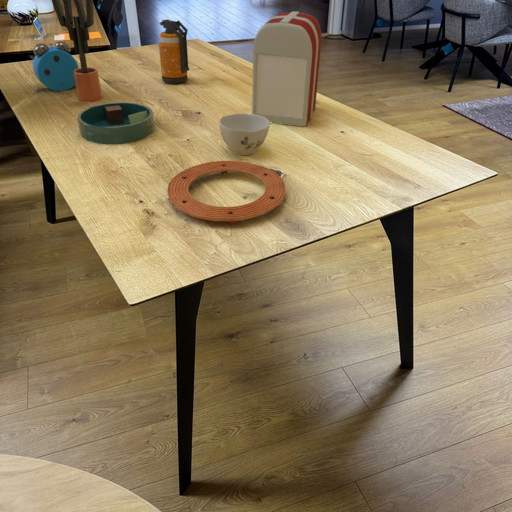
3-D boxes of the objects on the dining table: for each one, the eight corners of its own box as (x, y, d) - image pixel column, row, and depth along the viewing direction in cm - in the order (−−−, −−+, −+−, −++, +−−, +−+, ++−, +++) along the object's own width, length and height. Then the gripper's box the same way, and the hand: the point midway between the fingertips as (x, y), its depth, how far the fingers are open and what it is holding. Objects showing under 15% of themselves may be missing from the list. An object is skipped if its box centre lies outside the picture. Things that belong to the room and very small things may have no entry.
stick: (83, 88, 148) (72, 16, 138) (85, 87, 150) (74, 15, 140) (89, 88, 148) (78, 16, 138) (90, 87, 150) (80, 16, 140)
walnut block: (109, 125, 134) (107, 111, 131) (106, 120, 137) (104, 106, 134) (124, 123, 135) (122, 109, 133) (120, 118, 138) (118, 104, 136)
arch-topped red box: (316, 107, 150) (325, 12, 134) (306, 127, 136) (315, 24, 121) (265, 102, 154) (268, 9, 138) (250, 121, 140) (251, 19, 124)
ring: (267, 237, 91) (267, 226, 89) (147, 215, 96) (145, 204, 95) (297, 179, 110) (298, 169, 109) (195, 163, 116) (195, 154, 115)
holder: (75, 103, 150) (69, 73, 145) (83, 95, 156) (77, 67, 150) (98, 103, 150) (93, 74, 144) (105, 96, 156) (100, 67, 150)
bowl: (70, 145, 124) (66, 126, 121) (94, 118, 140) (91, 101, 137) (145, 147, 123) (143, 128, 120) (160, 120, 139) (159, 103, 136)
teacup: (274, 159, 119) (275, 128, 114) (224, 163, 116) (223, 132, 112) (260, 136, 131) (260, 107, 126) (214, 139, 128) (213, 110, 123)
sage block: (127, 115, 127) (141, 112, 126) (133, 114, 131) (146, 110, 130) (132, 130, 128) (146, 127, 128) (137, 128, 132) (151, 125, 131)
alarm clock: (77, 84, 165) (68, 37, 157) (83, 89, 161) (74, 41, 152) (38, 90, 159) (26, 42, 150) (43, 95, 155) (31, 46, 146)
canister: (174, 76, 176) (169, 16, 164) (197, 81, 170) (194, 20, 159) (157, 81, 170) (150, 19, 158) (180, 87, 165) (175, 24, 153)
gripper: (96, -41, 133) (110, 49, 147) (43, -42, 134) (62, 48, 147) (87, -38, 127) (102, 55, 141) (32, -39, 128) (53, 54, 141)
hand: (82, 51), depth 144 cm, fingers closed on stick, 2 cm apart
